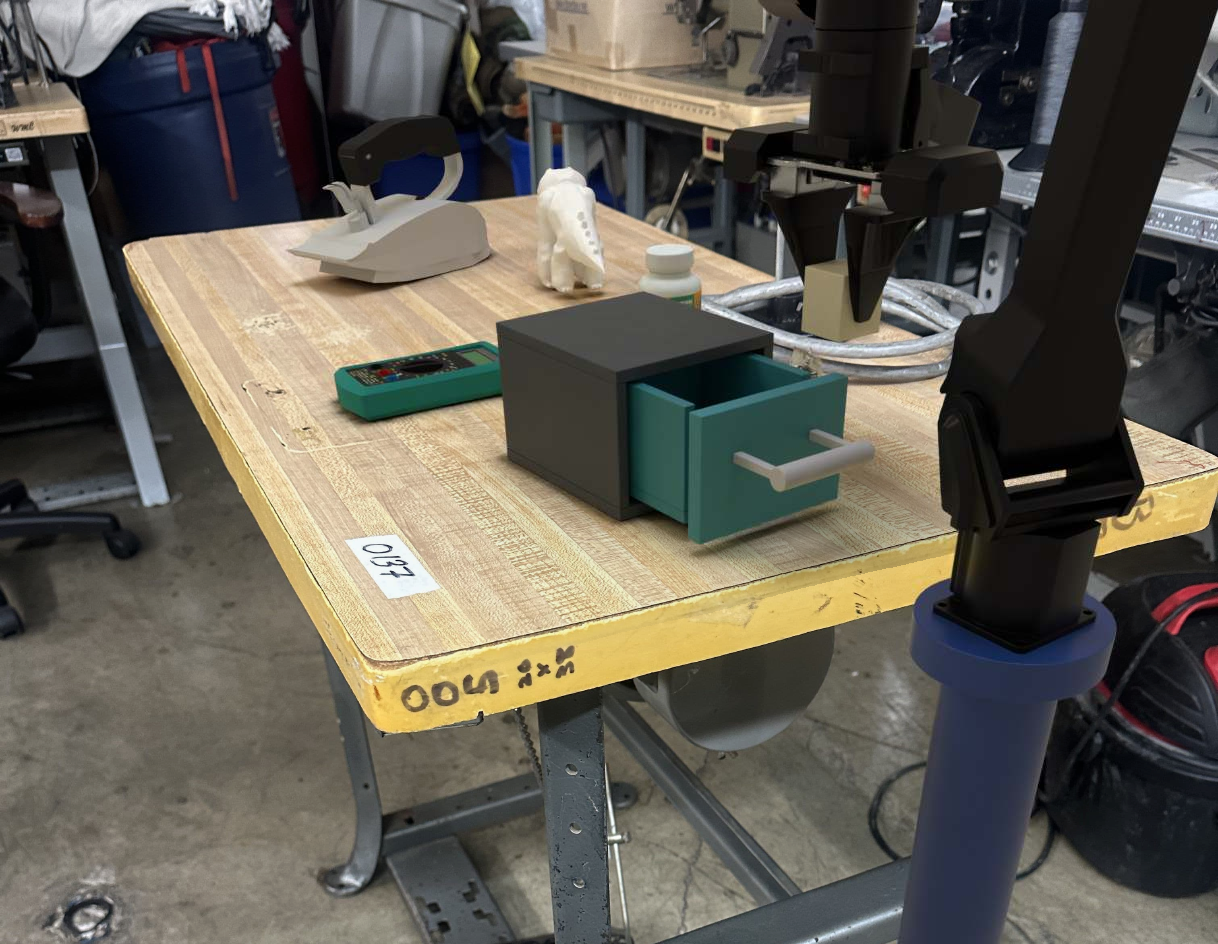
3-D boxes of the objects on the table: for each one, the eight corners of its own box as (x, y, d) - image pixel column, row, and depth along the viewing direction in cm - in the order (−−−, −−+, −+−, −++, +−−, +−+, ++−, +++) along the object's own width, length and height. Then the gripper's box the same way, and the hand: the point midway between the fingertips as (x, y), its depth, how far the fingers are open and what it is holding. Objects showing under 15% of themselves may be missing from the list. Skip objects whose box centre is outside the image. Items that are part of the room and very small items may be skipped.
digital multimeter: (330, 401, 98) (324, 365, 96) (491, 369, 103) (488, 335, 101) (359, 426, 93) (352, 389, 91) (527, 392, 98) (524, 356, 96)
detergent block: (879, 332, 76) (886, 266, 73) (838, 343, 74) (844, 276, 72) (841, 321, 78) (846, 257, 76) (800, 331, 77) (805, 265, 74)
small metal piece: (767, 378, 99) (769, 342, 97) (791, 374, 99) (793, 338, 97) (803, 398, 94) (805, 361, 92) (828, 394, 95) (831, 356, 93)
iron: (291, 285, 130) (262, 132, 121) (449, 244, 145) (434, 104, 136) (353, 298, 125) (328, 139, 116) (511, 254, 139) (499, 109, 130)
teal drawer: (892, 522, 72) (908, 396, 68) (751, 573, 67) (757, 440, 63) (708, 441, 85) (711, 330, 80) (578, 479, 80) (572, 362, 75)
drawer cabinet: (767, 475, 81) (774, 332, 76) (620, 521, 76) (615, 371, 70) (645, 420, 91) (643, 290, 85) (507, 458, 86) (495, 321, 80)
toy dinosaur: (581, 265, 133) (576, 156, 126) (640, 319, 115) (638, 193, 108) (523, 271, 132) (515, 161, 125) (573, 326, 113) (567, 200, 107)
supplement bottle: (669, 354, 105) (668, 238, 99) (713, 366, 102) (715, 247, 96) (626, 368, 102) (624, 250, 96) (671, 381, 99) (671, 259, 93)
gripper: (1094, 22, 63) (1039, 322, 73) (854, 13, 76) (834, 270, 85) (951, 38, 59) (912, 357, 68) (720, 25, 71) (714, 296, 81)
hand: (841, 315), depth 76 cm, fingers closed on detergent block, 3 cm apart
